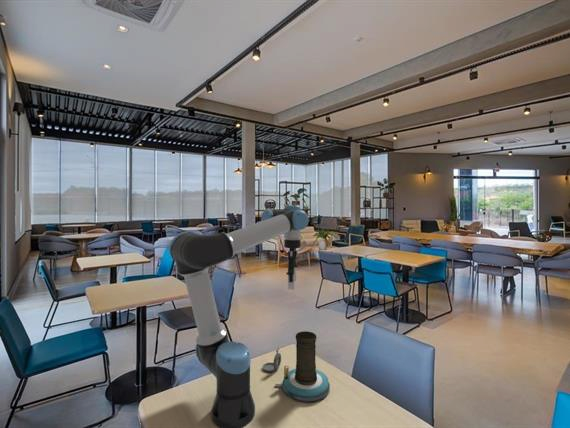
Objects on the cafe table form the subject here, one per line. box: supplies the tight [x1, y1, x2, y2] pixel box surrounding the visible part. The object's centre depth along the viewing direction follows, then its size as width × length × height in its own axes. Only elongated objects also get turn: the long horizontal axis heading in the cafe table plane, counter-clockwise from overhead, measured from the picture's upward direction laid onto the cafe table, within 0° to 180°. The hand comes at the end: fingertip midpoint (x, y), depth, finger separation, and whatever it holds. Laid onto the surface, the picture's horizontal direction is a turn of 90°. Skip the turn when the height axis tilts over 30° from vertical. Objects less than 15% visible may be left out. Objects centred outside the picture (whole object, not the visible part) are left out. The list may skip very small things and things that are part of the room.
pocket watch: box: [262, 347, 282, 373], centre depth 138 cm, size 8×8×10 cm
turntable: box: [283, 365, 329, 397], centre depth 124 cm, size 18×18×6 cm
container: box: [295, 330, 317, 385], centre depth 124 cm, size 9×9×18 cm
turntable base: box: [275, 379, 331, 404], centre depth 124 cm, size 22×19×2 cm
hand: (292, 285), depth 141 cm, fingers open, 13 cm apart
